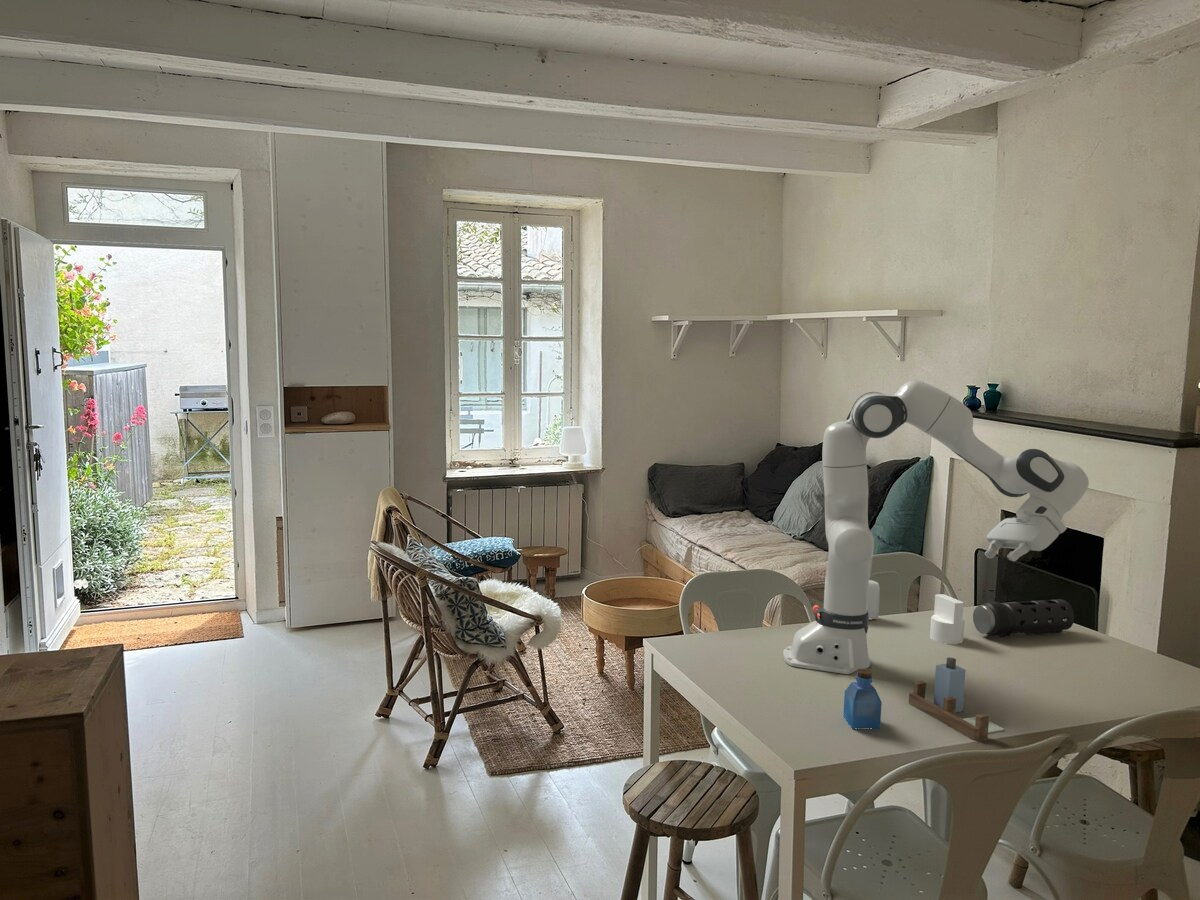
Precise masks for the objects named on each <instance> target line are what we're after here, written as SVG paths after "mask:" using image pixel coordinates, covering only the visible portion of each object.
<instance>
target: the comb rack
mask: <svg viewBox="0 0 1200 900" xmlns="http://www.w3.org/2000/svg"><path fill="white" fill-rule="evenodd" d="M926 688H927V682H926V681H923V680H921V681H914V682H913V692H909V693H908V704H909V705H910V706H912V705H913V707H914V708H916V709H918V710H919V711H921V712H923V713H925V714H927V716H928V715H929V716H930V717H931V718H934V719H936V720H937V721H939V722H941V723H942V724H945V725H946V726H948V727H950V728H952V729H953V730H955V731H956V732H958V733H960V734H961V735H964V736H966V737H967V738H969V739H971V740H972V741H979V740H984V739H988V738H989V737H988V735H989V734H993V733H997V732H1002V731H1005V728H1003V727H1001V726H999V725H998V724H996V723H994V722H992V721H990V715H988V714H987V713H981V714H976V715H975V716H972V717H966V718H965V717H964V718H962V717H960V716H958V715H956V713H955V709H956V698H954V697H946V698H944V699H943V708H941V707H939V706H937V705H935V704H934V703H933V702H932V701H931V700H928V699H926Z"/></svg>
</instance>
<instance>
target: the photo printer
mask: <svg viewBox="0 0 1200 900" xmlns="http://www.w3.org/2000/svg"><path fill="white" fill-rule="evenodd" d="M880 589H881V588H880V583H878V581H875V580H872V579H869V586H868V602H867V611H868V616H869V618H871V619H869V621H873V620H872V619H877V620H878V619H879V614H880V613H879V612H880V611H879V610H880Z"/></svg>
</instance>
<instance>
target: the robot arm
mask: <svg viewBox="0 0 1200 900" xmlns="http://www.w3.org/2000/svg"><path fill="white" fill-rule="evenodd" d="M905 423H906V424H909V425H911V426H914V427H915V428H917V429H918V430H920V431H922V432H924V433H925V434H926V435H928V436H930V437H932V438H933V439H935V440H936V441H939V443H942V444H943V445H944V446H946V447H947V448H948V449H949V450H950V451H951V452H953V453H954V454H955V455H957V456H958V457H960V458H961V459H962V460H964V461H965V462H966V463H968V464H970V465H971V466H973V467H974V468H975V469H977V470H978V471H979V472H981V473H983V475H985V476H986V478H988V479H989V480H990V482H991V483H992V484H993V487H995V488H996V490H997V491H998V492H999V493H1001V494H1002V495H1004V496H1007V497H1008V498H1009V497H1010V498H1020V497H1023V496H1026V495H1027V494H1029V497H1028V498H1027V499H1026V500H1025V501H1024V502H1023V504H1022V505H1021V506H1020V507H1018V508H1017V510H1016V512H1015V513H1016V514H1015V515H1016V516H1012V517H1007V518H1004V519H1003V520H1001V521H1000V522H999V523H997V524H996V525H995V526H994V527H993V528H992V529H991V530H990V531H989V532H988V533H987V534H986V537H985V538H986V540H987V541H988V542H989V545H988V549H987V550H986V551H985V552H984V555H985V557H986V558H987V559H994V558H995V556H997V551H998V550H1000V549H1001V548H1003V549H1013V550H1010V552H1009V553H1007V555H1006V557H1007V559H1008V560H1009V561H1011V562H1016V561H1017V560H1019V558H1021V557H1022V556H1023V555H1026V554H1027V553H1029V552H1030V551H1035V552H1041V551H1044V550H1045V549H1047V548H1048V547H1049V546H1050V545H1052V544H1053V542H1054V541H1055V540H1056V539H1057V538H1058V537H1059V535H1060V534H1062V533H1064V532H1065V531H1066V530H1067V529H1068V527H1067V526H1066V524H1064V522H1063V521H1062V520H1063V517H1064V516H1065V515H1066V513H1068V512H1070V511H1072V510H1073V508H1074V507H1076V505H1077V504H1078V503H1079V502H1080V500H1082V498H1083V497H1084V496H1085V494H1086V492H1087V490H1088V488H1089V483H1090V481H1089V478H1088V476H1087V475H1088V474H1086V472H1085V471H1084V470H1083V468H1082V467H1080V466H1079V465H1077V464H1075V463H1073V462H1066V461H1062V460H1059V459H1057V458H1054V457H1053V456H1050V455H1049V454H1048V453H1047V452H1045V451H1043V450H1042V449H1037V448H1028V449H1026V450H1023V451H1021V452H1018V453H1017V454H1015V455H1014V456H1007V455H1006V456H1005V455H1002V454H1001V453H999V452H997V451H996V450H995V449H994V448H992V447H990V446H989V445H987V444H986V443H985V442H983V441H982V440H980V439H979V438H978V437H977V436H976V435H975V432H974V429H973V427H974V417H973V413H972V411H971V409H970V408H969V407H968V406H967V405H965V404H964V403H963V402H961V401H960V400H959V399H957V398H956V397H954V396H953V395H951V394H949V393H947V392H945V391H944V390H941V388H938V387H936V386H934V385H931V384H929V383H926V382H924V381H921V380H918V379H912V380H908V381H906V382H905V383H903V384H902V385H901V386H900V387H899V388H898V389H897V391H896V392H895V393H894V394H892V395H886V394H885V393H882V392H878V391H871V392H866V393H864V394H862V395H860V396H859V397H858V398H857V399H856V401H854V403H853V405H852V407H851V409H850V411H849V414H848V415H847V417H846V420H842V421H837V422H836V421H835V422H834V423H832V424H830V425H828V426H827V427H826V429H825V430H824V432H823V441H822V450H821V451H822V452H821V455H822V457H821V458H822V459H821V460H822V475H823V476H822V477H823V491H824V493H823V494H824V526H825V527H824V528H825V530H824V531H825V538H826V542H827V545H828V554H827V563H826V572H825V577H824V578H825V579H824V594H823V606H821V607H820V605H818V604H815V605H813V606H812V611H813V612H812V613H814V621H812V622H810V623H809V624H807V625H805V626H804V627H802V628H799V629H798V630H797V631H796V632H795V634H794V636H793V639H792V642H791V645H788V646H786V647H785V648H784V649H783V651H782V659H783V661H784V662H785V663H786V664H787V665H789V666H790V667H796V668H802V669H809V670H816V671H822V672H830V673H835V674H837V673H838V674H843V675H850V674H853V673H855V672H857V670H858V669H868V668H869V667H871V661H870V657H869V652H868V649H869V648H868V643H867V642H868V641H867V639H868V638H867V637H868V636H867V633H868V630H869V621H870V620H869V616H868V611H867V602H868V586H869V580H870V577H871V572H872V567H873V566H872V565H873V557H874V550H875V539H874V535H873V533H872V530H870V527H869V516H868V515H869V493H870V492H869V482H868V481H869V479H868V478H869V477H868V464H867V462H868V461H867V445H868V442H869V441H870V439H882V438H885V437H888V436H890V435H891V434H892V433H894V432H895V431H896V430H898V428H900V427H901V426H902V425H904V424H905Z"/></svg>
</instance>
